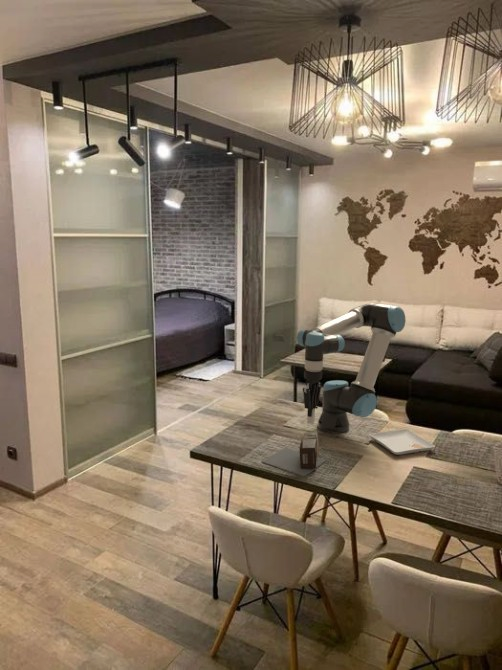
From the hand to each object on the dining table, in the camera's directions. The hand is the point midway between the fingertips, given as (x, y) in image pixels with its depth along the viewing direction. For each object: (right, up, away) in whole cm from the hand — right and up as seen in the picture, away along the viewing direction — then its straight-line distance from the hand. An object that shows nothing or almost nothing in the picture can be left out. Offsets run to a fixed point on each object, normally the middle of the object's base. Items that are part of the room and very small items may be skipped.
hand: (310, 423), depth 214 cm
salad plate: (+42, -13, +11) cm, 45 cm away
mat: (-8, -15, -7) cm, 18 cm away
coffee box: (0, -8, -1) cm, 8 cm away
